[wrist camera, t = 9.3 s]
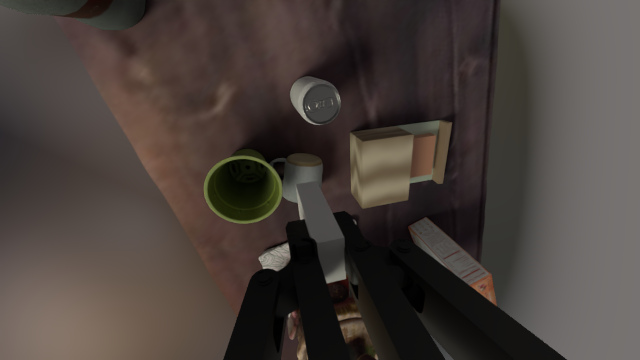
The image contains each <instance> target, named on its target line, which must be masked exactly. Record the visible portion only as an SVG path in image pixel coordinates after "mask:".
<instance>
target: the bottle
mask: <svg viewBox="0 0 640 360" xmlns="http://www.w3.org/2000/svg"><path fill="white" fill-rule="evenodd" d="M0 5H2V6H4V7H7V8H11V9H14V10H17V11H20V12H23V13H26V14H42V15H54V16H62V17H71V18H75V19H77V20H79V21H81V22H83V23H85V24H88V25H90V26H93V27H96V28H99V29H102V30H124V29H127V28H130V27H133V26H134V25H135V24H136V23H137V22H139V21H140V20H141V18H142V16H143V14H144V12H145V0H0Z"/></svg>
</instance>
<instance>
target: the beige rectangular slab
mask: <svg viewBox="0 0 640 360" xmlns="http://www.w3.org/2000/svg"><path fill="white" fill-rule="evenodd" d="M413 138H414V134H412V133H410V132H407V131H405V130H403V129H401V128H399V127H397V126H392V127H384V128H377V129H370V130H362V131H355V132H350V157H351V193H352V194H353V196H354V197H355V199H356V200H357V201H358V203H359V204H360V206H361V207H362V208H368V207H373V206H378V205H384V204H389V203H394V202H400V201H405V200H408V194H409V183H410V172H411V160H412V149H413Z"/></svg>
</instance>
